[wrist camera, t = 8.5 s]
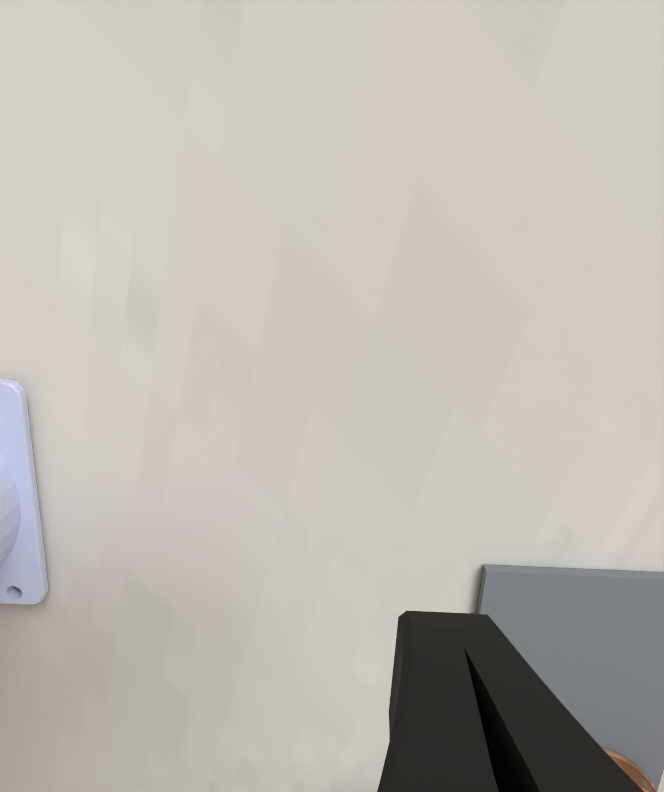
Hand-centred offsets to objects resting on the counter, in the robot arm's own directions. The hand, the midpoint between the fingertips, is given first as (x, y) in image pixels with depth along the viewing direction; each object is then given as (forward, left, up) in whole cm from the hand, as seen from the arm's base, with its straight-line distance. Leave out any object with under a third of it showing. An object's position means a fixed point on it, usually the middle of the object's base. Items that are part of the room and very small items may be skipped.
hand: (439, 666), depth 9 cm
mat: (+8, -14, -10) cm, 19 cm away
